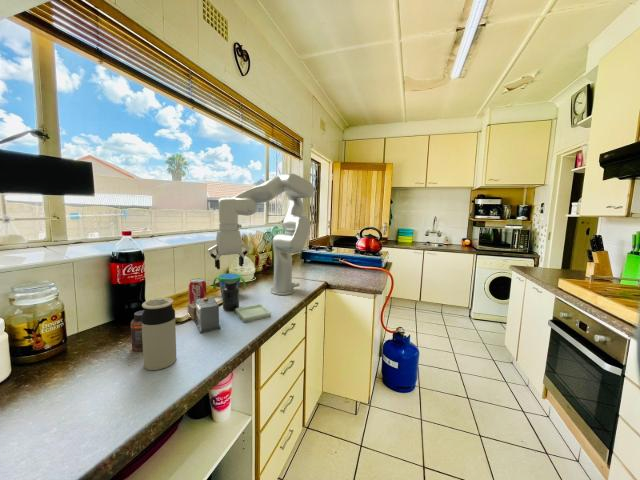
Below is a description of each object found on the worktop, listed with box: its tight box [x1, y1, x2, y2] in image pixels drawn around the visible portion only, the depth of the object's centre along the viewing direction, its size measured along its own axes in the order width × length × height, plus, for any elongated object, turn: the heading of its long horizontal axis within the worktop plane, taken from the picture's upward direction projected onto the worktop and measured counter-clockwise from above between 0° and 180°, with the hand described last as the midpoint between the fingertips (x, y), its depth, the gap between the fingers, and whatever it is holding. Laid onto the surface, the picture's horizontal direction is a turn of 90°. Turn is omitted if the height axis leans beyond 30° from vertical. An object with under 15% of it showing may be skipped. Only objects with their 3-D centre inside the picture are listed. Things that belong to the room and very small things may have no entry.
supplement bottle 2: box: [222, 281, 240, 312], centre depth 113 cm, size 7×7×12 cm
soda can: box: [188, 277, 207, 305], centre depth 114 cm, size 7×7×12 cm
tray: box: [235, 303, 272, 323], centre depth 108 cm, size 11×11×2 cm
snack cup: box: [212, 272, 246, 297], centre depth 129 cm, size 16×10×10 cm
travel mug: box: [141, 297, 177, 371], centre depth 73 cm, size 8×8×18 cm
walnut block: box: [187, 303, 197, 321], centre depth 104 cm, size 5×5×5 cm
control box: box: [194, 296, 222, 334], centre depth 97 cm, size 7×11×10 cm, turn 34°
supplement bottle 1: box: [130, 309, 144, 352], centre depth 81 cm, size 6×6×11 cm
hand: (229, 267), depth 111 cm, fingers open, 9 cm apart
